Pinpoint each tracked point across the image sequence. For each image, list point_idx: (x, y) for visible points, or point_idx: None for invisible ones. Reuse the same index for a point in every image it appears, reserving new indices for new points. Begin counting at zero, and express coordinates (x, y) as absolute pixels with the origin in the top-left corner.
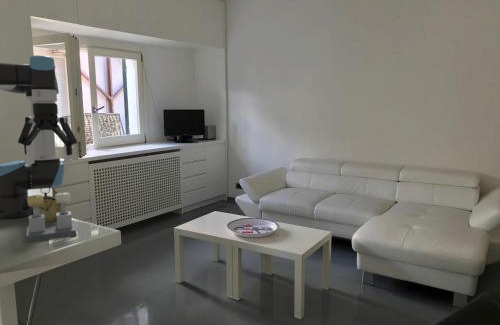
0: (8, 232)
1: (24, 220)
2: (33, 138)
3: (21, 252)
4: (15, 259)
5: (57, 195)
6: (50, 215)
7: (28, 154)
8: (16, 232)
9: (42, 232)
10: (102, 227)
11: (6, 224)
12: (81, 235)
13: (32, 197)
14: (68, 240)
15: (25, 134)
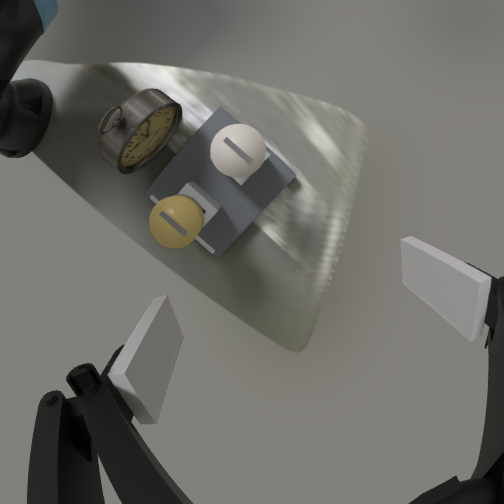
0: (115, 216)
1: (70, 133)
2: (140, 442)
3: (265, 304)
4: (286, 331)
5: (239, 177)
6: (158, 132)
7: (168, 376)
8: (131, 209)
9: (227, 220)
10: (309, 99)
11: (62, 175)
12: (306, 170)
13: (177, 238)
14: (304, 212)
15: (91, 487)
